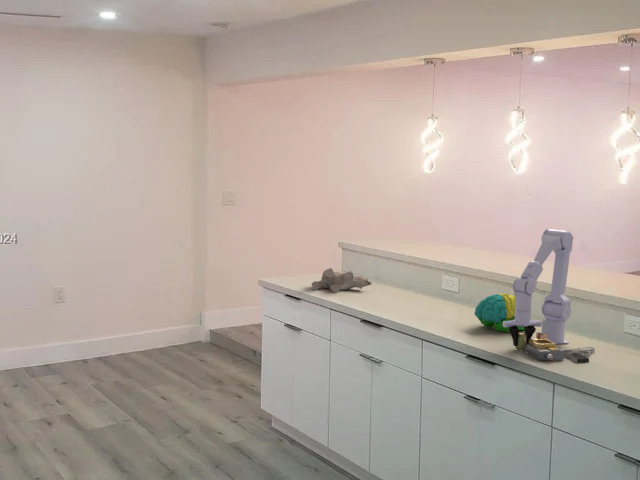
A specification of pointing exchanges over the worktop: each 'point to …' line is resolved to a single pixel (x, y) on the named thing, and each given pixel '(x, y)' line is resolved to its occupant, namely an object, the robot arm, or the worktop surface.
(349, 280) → the animal model
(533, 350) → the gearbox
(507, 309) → the brain model
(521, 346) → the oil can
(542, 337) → the copper can
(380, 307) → the worktop surface
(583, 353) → the handgun
